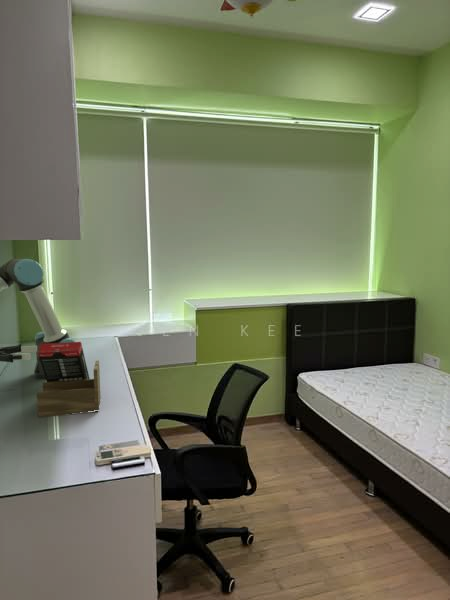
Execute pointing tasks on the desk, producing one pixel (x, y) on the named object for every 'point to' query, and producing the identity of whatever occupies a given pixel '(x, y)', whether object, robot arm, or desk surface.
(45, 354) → the graphics card box
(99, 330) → the desk surface
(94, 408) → the walnut shelf slot
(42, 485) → the desk surface
